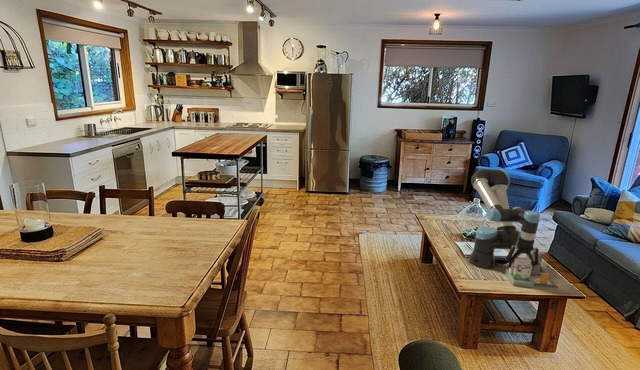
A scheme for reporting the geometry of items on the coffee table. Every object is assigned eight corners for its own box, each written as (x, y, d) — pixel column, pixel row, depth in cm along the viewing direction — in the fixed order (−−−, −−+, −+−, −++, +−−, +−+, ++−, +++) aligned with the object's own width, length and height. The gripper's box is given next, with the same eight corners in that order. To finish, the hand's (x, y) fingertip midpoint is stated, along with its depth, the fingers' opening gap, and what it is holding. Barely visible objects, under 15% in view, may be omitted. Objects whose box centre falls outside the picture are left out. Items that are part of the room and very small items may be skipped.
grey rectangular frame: (531, 284, 207) (534, 274, 205) (515, 261, 234) (517, 251, 232) (557, 287, 205) (560, 276, 203) (537, 263, 232) (540, 253, 230)
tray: (512, 285, 206) (513, 280, 205) (504, 272, 220) (505, 268, 219) (532, 287, 204) (533, 283, 203) (523, 274, 218) (524, 270, 217)
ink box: (514, 278, 209) (516, 259, 206) (510, 273, 214) (512, 255, 210) (529, 278, 209) (531, 259, 205) (524, 273, 213) (527, 255, 210)
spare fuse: (529, 271, 221) (533, 254, 218) (524, 264, 230) (527, 247, 226) (538, 272, 220) (542, 255, 217) (532, 265, 229) (536, 248, 225)
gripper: (508, 238, 203) (501, 274, 209) (551, 243, 199) (542, 279, 205) (504, 233, 210) (497, 267, 216) (545, 237, 206) (537, 272, 212)
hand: (519, 273), depth 211 cm, fingers closed on ink box, 9 cm apart
